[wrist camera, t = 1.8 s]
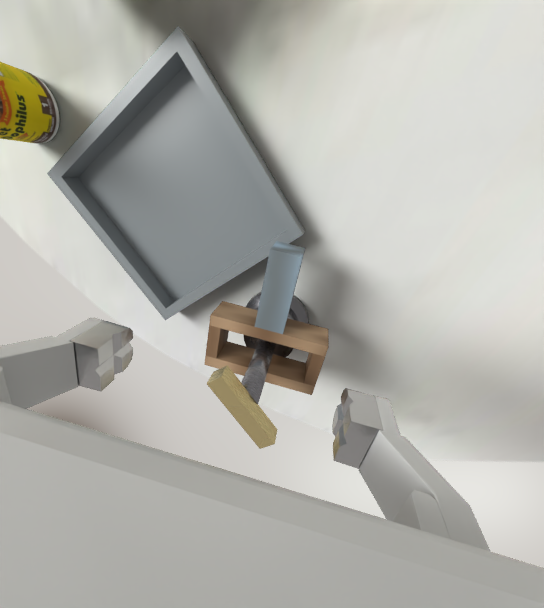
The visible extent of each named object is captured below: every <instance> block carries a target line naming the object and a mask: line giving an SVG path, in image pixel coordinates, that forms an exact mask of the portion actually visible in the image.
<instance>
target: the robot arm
mask: <svg viewBox="0 0 544 608" xmlns="http://www.w3.org/2000/svg"><path fill="white" fill-rule="evenodd" d="M132 339H133V331H132V330H131V329H130V328H128V327H124V326H121V325H118V324H114V323H111V322H108V321H104V320H100V319H97V318H89V319H87V320H85V321H83V322H81V323H80V324H78V325H76V326H74V327H73V328H71V329H69V330H67V331H66V332H64V333H62V334H60V335H58V336H57V337H52V336H50V337H44V338H39V339H34V340H29V341H23V342H19V343H13V344H8V345H2V346H0V608H544V568H542V567H539V566H535V565H532V564H529V563H525V562H523V561H519V560H516V559H513V558H510V557H506V556H503V555H500V554H496V553H493V552H491V551H490V549H489V547H488V545H487V543H486V540H485V538H484V536H483V534H482V531H481V529H480V527H479V525H478V523H477V520H476V518H475V516H474V514H473V512H472V509H471V507H470V505H469V504H468V503H467V502H466V501H465V500H464V499H463V498H462V497H461V496H460V495H459V494H458V493H457V492H456V490H455V489H454V488H453V487H452V486H451V485H450V484H449V483H448V482H447V481H446V480H445V479H444V478H443V477H442V476H441V475H440V473H438V471H437V470H436V469H435V468H434V467H433V466H432V465H431V464H430V463H429V462H428V461H427V460H426V459H425V458H424V457H423V455H422V454H421V453H420V452H419V451H418V450H417V449H416V448H415V447H414V446H413V445H412V444H411V443H410V442H409V441H408V440H407V439H406V438H405V437H403V436H401V435H400V432H399V429H398V425H397V422H396V419H395V416H394V413H393V410H392V406H391V403H390V401H389V400H388V399H387V398H383V397H379V396H374V395H373V396H372V395H369V394H365V393H361V392H358V391H354V390H350V389H347V388H345V390H344V391H343V393H342V396H341V403H342V404H340V405H338V406H337V408H336V411H335V414H334V418H333V434H334V435H335V440H334V442H333V454H334V461H337V462H340V463H343V464H346V465H349V466H352V467H355V468H358V469H359V471H360V473H361V475H362V477H363V479H364V480H365V482H366V484H367V485H368V487H369V489H370V491H371V493H372V494H373V496H374V498H375V499H376V501H377V503H378V505H379V507H380V508H381V510H382V512H383V514H384V515H385V517H386V519H387V520H386V519H383V518H380V517H376V516H373V515H370V514H366V513H363V512H360V511H357V510H353V509H350V508H347V507H344V506H341V505H337V504H334V503H331V502H327V501H324V500H321V499H318V498H314V497H311V496H308V495H305V494H301V493H298V492H295V491H291V490H288V489H285V488H282V487H279V486H275V485H272V484H269V483H266V482H262V481H259V480H256V479H253V478H250V477H246V476H243V475H240V474H237V473H233V472H230V471H227V470H224V469H220V468H217V467H214V466H210V465H208V464H204V463H201V462H198V461H194V460H191V459H188V458H185V457H181V456H178V455H175V454H172V453H168V452H165V451H162V450H159V449H155V448H152V447H149V446H146V445H142V444H139V443H136V442H132V441H129V440H126V439H123V438H120V437H116V436H113V435H109V434H107V433H103V432H100V431H96V430H93V429H90V428H87V427H84V426H81V425H77V424H74V423H71V422H68V421H64V420H61V419H58V418H54V417H51V416H48V415H44V414H42V413H38V412H35V411H32V410H28V409H27V408H29V407H32V406H34V405H36V404H39V403H41V402H43V401H46V400H48V399H50V398H53V397H55V396H57V395H60V394H62V393H65V392H67V391H69V390H72V389H74V388H76V387H78V386H82V387H86V388H90V389H94V390H97V391H102V390H103V389H104V388H105V387H107V386H108V385H109V384H110V383H111V382H112V381H113V380H114V374H117V373H120V372H123V371H124V370H125V369H126V368H127V367H128V365H129V363H130V361H131V360H132V356H133V347H132V346H131V344H130V343H129V342H130V341H131V340H132Z"/></svg>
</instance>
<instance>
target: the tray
mask: <svg viewBox="0 0 544 608" xmlns="http://www.w3.org/2000/svg"><path fill="white" fill-rule="evenodd" d="M47 174H48V175H49V176H50V178H51V179H52V180H53V181H54V183H55V184H56V185H57V186H58V188H59V189H60V190H61V191H62V193H63V194H64V195H65V196H66V198H67V199H68V200H69V201H70V203H71V204H72V205H73V206H74V207H75V209H76V210H77V211H78V212H79V214H80V215H81V216H82V217H83V219H84V220H85V221H86V222H87V224H88V225H89V226H90V227H91V229H92V230H93V231H94V232H95V234H96V235H97V236H98V237H99V239H100V240H101V241H102V242H103V243H104V245H105V246H106V247H107V248H108V250H109V251H110V252H111V253H112V255H113V256H114V257H115V258H116V260H117V261H118V262H119V263H120V265H121V266H122V267H123V268H124V270H125V271H126V272H127V273H128V275H129V276H130V277H131V278H132V279H133V281H134V282H135V283H136V284H137V286H138V287H139V288H140V289H141V291H142V292H143V293H144V294H145V296H146V297H147V298H148V299H149V301H150V302H151V303H152V304H153V306H154V307H155V308H156V309H157V310H158V312H159V313H160V314H161V315H162V317H163V318H164V319H165V320H166V319H168V318H170V317H171V316H173V315H175V314H176V313H178V312H179V311H181V310H183V309H184V308H186V307H187V306H189V305H191V304H192V303H194V302H196V301H197V300H199V299H200V298H202V297H204V296H205V295H207V294H208V293H210V292H212V291H213V290H215V289H216V288H218V287H220V286H221V285H223V284H225V283H226V282H228V281H229V280H231V279H233V278H234V277H236V276H237V275H239V274H241V273H242V272H244V271H246V270H247V269H249V268H250V267H252V266H254V265H255V264H257V263H258V262H260V261H262V260H263V259H265V258H267V257H268V256H269V252H270V249H271V247H272V246H273V245H274V244H275V243H276V241H278V242H283V243H287V244H289V243H291V242H292V241H294V240H296V239H297V238H299V237H300V236H302V235H303V234H304V231H305V230H304V228H303V226H302V225H301V223H300V221H299V220H298V218H297V216H296V215H295V213H294V211H293V209H292V208H291V206H290V204H289V203H288V201H287V199H286V198H285V196H284V194H283V193H282V191H281V189H280V187H279V186H278V184H277V182H276V181H275V179H274V177H273V176H272V174H271V172H270V171H269V169H268V167H267V165H266V164H265V162H264V160H263V159H262V157H261V155H260V154H259V152H258V150H257V149H256V147H255V145H254V144H253V142H252V140H251V138H250V137H249V135H248V133H247V132H246V130H245V128H244V127H243V125H242V123H241V122H240V120H239V118H238V116H237V115H236V113H235V111H234V110H233V108H232V106H231V105H230V103H229V101H228V100H227V98H226V96H225V95H224V93H223V91H222V89H221V88H220V86H219V84H218V83H217V81H216V79H215V78H214V76H213V74H212V73H211V71H210V69H209V67H208V66H207V64H206V62H205V61H204V59H203V57H202V56H201V54H200V52H199V51H198V49H197V47H196V46H195V44H194V42H193V41H192V40H191V39H190V38H189V37H188V36H187V35H186V34H185V33H184V31H183V30H182V29H181V28H180V27H179V26H177V28H176V29H175V30H174V31H173V32H172V33H171V34H170V35H169V37H168V38H167V39H166V40H165V41H164V42H163V43H162V44H161V46H160V47H159V48H158V49H157V50H156V51H155V52H154V53H153V55H152V56H151V57H150V58H149V59H148V60H147V61H146V63H145V64H144V65H143V66H142V67H141V68H140V69H139V70H138V72H137V73H136V74H135V75H134V76H133V77H132V78H131V79H130V81H129V82H128V83H127V84H126V85H125V86H124V87H123V89H122V90H121V91H120V92H119V93H118V94H117V95H116V96H115V98H114V99H113V100H112V101H111V102H110V103H109V104H108V105H107V107H106V108H105V109H104V110H103V111H102V112H101V113H100V115H99V116H98V117H97V118H96V119H95V120H94V121H93V122H92V124H91V125H90V126H89V127H88V128H87V129H86V130H85V131H84V133H83V134H82V135H81V136H80V137H79V138H78V139H77V141H76V142H75V143H74V144H73V145H72V146H71V147H70V148H69V150H68V151H67V152H66V153H65V154H64V155H63V156H62V157H61V159H60V160H59V161H58V162H57V163H56V164H55V165H54V167H53V168H52V169H51V170H50V171H49V172H48V173H47Z"/></svg>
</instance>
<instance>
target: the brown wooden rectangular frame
mask: <svg viewBox="0 0 544 608" xmlns="http://www.w3.org/2000/svg"><path fill="white" fill-rule="evenodd" d="M304 251H305V248H303V247H299V246H295V245H291V244H287V243H283V242H278V241H276V243H275V244H274V245H273V246H272V247H271V249H270V252H269V257H268V262H267V267H266V272H265V277H264V282H263V287H262V292H261V297H260V302H259V307H258V310H254V309H251V308H247V307H243V306H239V305H235V304H232V303H228V302H224V301H222V302H221V304H220V305H219V306H218V307H217V308H216V309H215V310H214V312H213V313H212V314H211V316H210V324H209V332H208V341H207V349H206V357H205V365H208V366H211V367H215V368H218V369H221V368H223V367H225V366H227V365H228V367H229V368H230V369H231V370H232V372H233V373H236V374H240V375H243V376H245V373H246V371H247V368H248V366H249V364H250V361H251V359H252V356H253V354H254V352H255V349H253V348H249V347H245V346H242V345H238V344H235V343H231V342H227V338H228V332H229V331H233V332H236V333H240V334H244V335H247V336H251V337H255V338H258V339H262V340H266V341H269V342H273V343H277V344H280V345H284V346H288V347H291V348H295V349H299V350H302V351H306V352H309V354H308V358H307V361H306V363H304V362H300V361H296V360H293V359H289V358H285V357H282V356H278V355H275V354H273V356H272V359H271V363H270V366H269V369H268V373H267V376H266V379H265V382H268V383H271V384H275V385H278V386H282V387H286V388H289V389H293V390H296V391H300V392H303V393H307V394H310V395H312V393H313V390H314V387H315V384H316V381H317V378H318V376H319V373H320V370H321V367H322V364H323V361H324V358H325V355H326V352H327V349H328V329H326V328H323V327H319V326H315V325H311V324H307V323H304V322H300V321H296V320H292V319H288V314H289V310H290V306H291V302H292V298H293V294H294V290H295V286H296V282H297V279H298V275H299V271H300V267H301V263H302V259H303V255H304Z"/></svg>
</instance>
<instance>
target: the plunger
mask: <svg viewBox="0 0 544 608" xmlns="http://www.w3.org/2000/svg"><path fill="white" fill-rule="evenodd" d="M260 297H261V292H260V293H258V294H257V295H255V296H254V297H253V298H252V299H251V300H250V301H249V303H248V304H247V306H246V307H247V308H251V309H254V310H258V307H259V302H260ZM288 319H292V320H296V321H300V322H304V323H307V324H308V314H307V311H306V309H305V307H304V305H303V304H302V302H301V301H300V300H299V299H298V298H296V297H295V296H294V295H293V298H292V302H291V306H290V310H289V314H288ZM244 341H245V344H246V346H247V347H249V348H253V349H255V352H254V354H253V356H252V359H251V361H250V364H249V366H248V368H247V371H246V373H245V376H244V378H243V380H242V383H241V382H240V381H239V379H238V378H237V377H236V376H235V374H234V373H233V372H232V370H231V369H230V368H229V367H228V365H227V366H225V367H223V368H221V369H219V370H216V371H214V372H213V374H212V375H211V377H210V379H209V381H208V382H207V385H208V386H209V387H210V388H211V390H212V391H213V392H214V393H215V394H216V396H217V397H218V398H219V399H220V401H221V402H222V403H223V404H224V406H225V407H226V408H227V409H228V410H229V412H230V413H231V414H232V415H233V417H234V418H235V419H236V420H237V421H238V423H239V424H240V425H241V426H242V428H243V429H244V430H245V431H246V432H247V434H248V435H249V436H250V437H251V439H252V440H253V441H254V442H255V443H256V445H257V446H258V447H259V448H263V447H267V446H270V445H273V444H275V439H276V434H277V429H276V427H275V426H274V425H273V423H272V422H271V421H270V419H269V418H268V417H267V416H266V414H265V413H264V412H263V410H262V409H261V408H260V407H259V405H258V402H259V399H260V395H261V392H262V389H263V386H264V382H265V379H266V376H267V373H268V369H269V366H270V363H271V359H272V356H273V354H275V355H278V356H282V357H286V356H288V355H289V354H290V353H291V352H292V350H293V348H291V347H288V346H284V345H280V344H277V343H273V342H269V341H266V340H262V339H258V338H255V337H251V336H247V335H244Z"/></svg>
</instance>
